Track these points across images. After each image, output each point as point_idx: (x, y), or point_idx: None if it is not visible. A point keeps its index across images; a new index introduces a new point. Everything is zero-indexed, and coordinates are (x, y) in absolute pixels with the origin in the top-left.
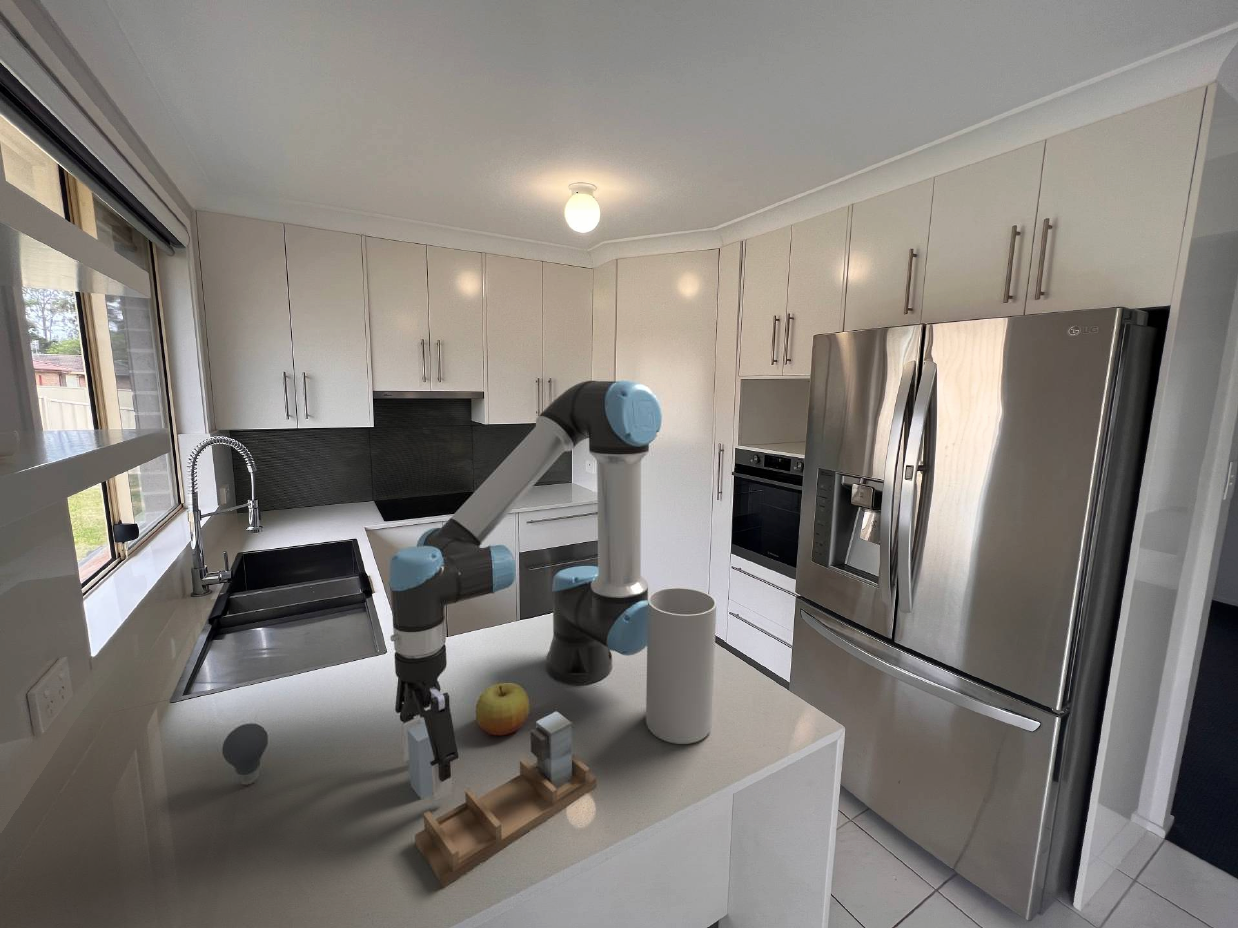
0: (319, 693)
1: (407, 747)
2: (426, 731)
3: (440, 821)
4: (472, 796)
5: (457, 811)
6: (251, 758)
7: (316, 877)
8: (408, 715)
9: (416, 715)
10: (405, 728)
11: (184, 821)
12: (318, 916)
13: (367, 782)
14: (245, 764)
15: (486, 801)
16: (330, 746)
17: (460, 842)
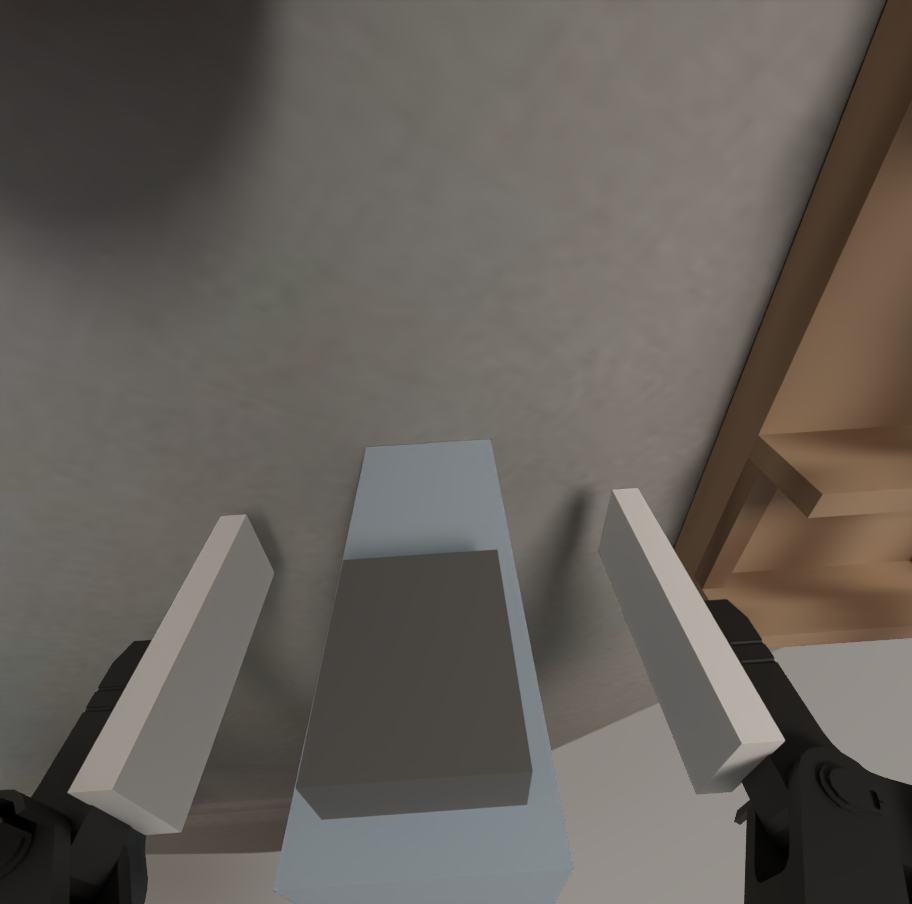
0: None
1: (246, 633)
2: (472, 900)
3: (735, 564)
4: (879, 502)
5: (763, 509)
6: (139, 881)
7: (553, 703)
8: (80, 889)
9: (57, 822)
10: (188, 790)
11: (235, 794)
12: (647, 706)
13: (281, 616)
14: (144, 859)
15: (840, 371)
16: (5, 659)
17: (865, 528)
